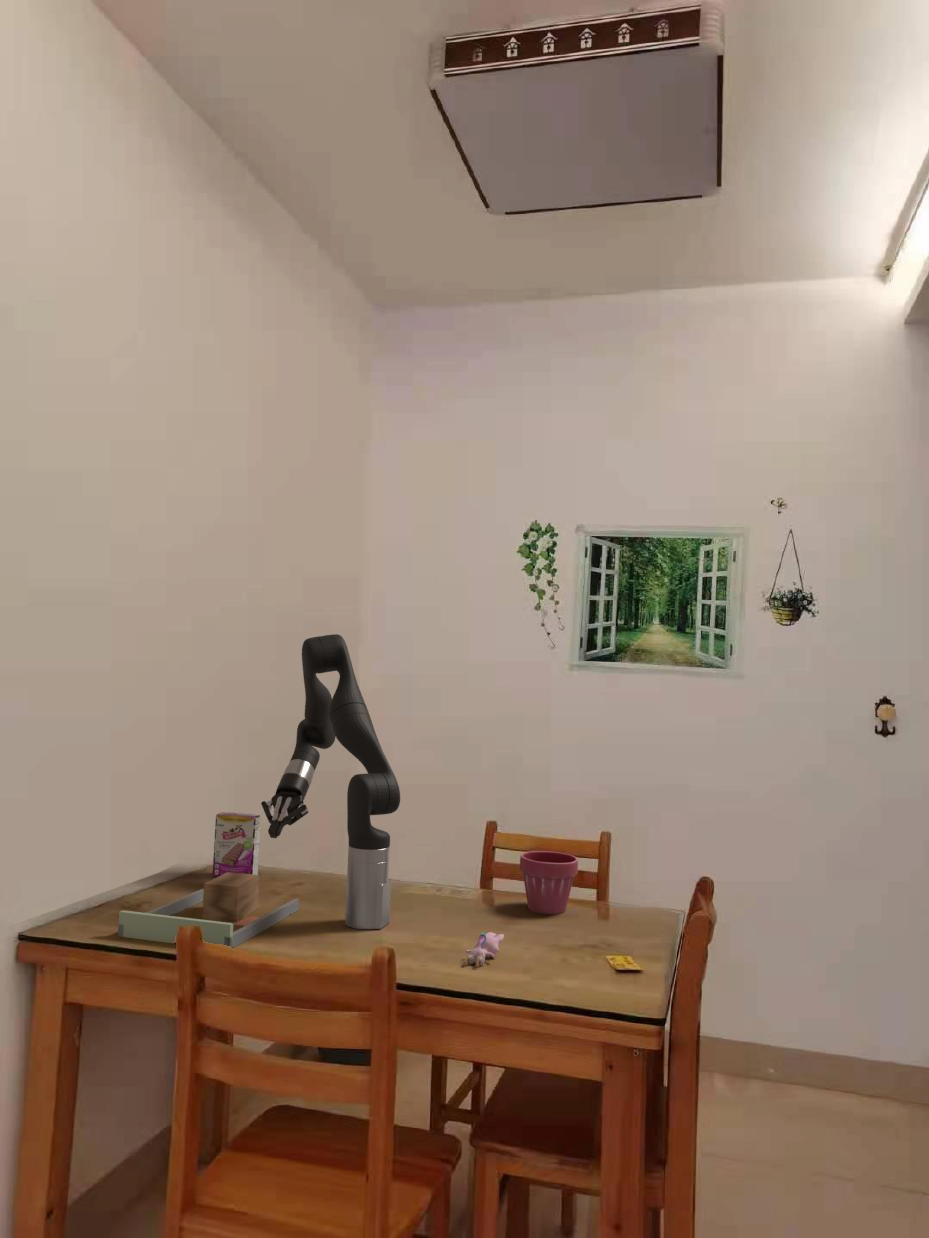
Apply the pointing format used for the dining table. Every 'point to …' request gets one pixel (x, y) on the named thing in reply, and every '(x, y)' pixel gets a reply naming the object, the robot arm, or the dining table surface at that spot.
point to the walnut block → (230, 897)
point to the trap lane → (196, 923)
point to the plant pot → (548, 880)
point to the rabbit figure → (484, 948)
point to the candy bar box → (236, 843)
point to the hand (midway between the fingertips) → (272, 836)
